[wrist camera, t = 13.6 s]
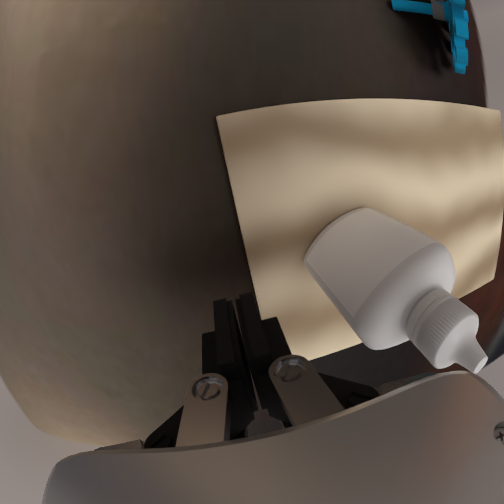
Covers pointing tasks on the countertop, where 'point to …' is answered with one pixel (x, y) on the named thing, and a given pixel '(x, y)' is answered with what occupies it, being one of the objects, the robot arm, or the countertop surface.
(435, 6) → the gear
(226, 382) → the robot arm
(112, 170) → the countertop surface
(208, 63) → the countertop surface
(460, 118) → the beige flat sheet
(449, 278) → the eye dropper bottle
